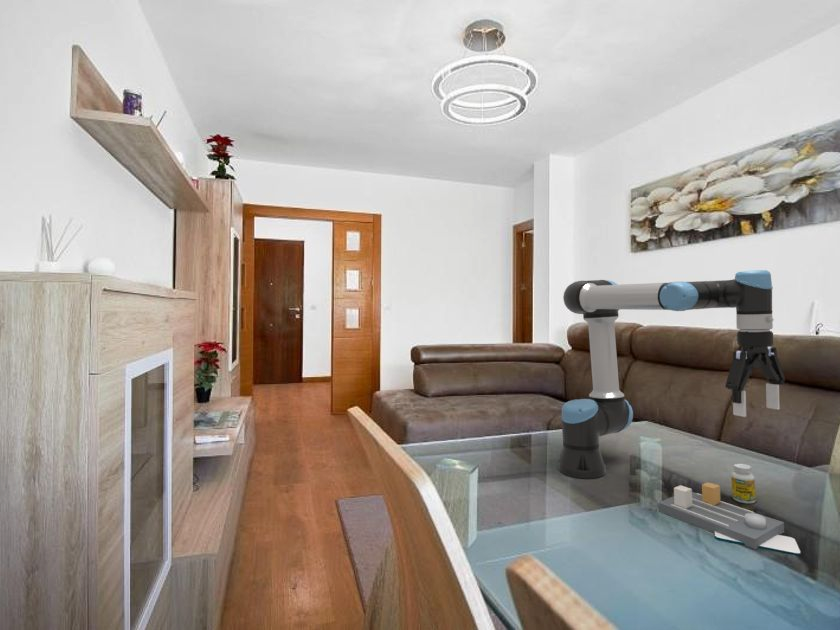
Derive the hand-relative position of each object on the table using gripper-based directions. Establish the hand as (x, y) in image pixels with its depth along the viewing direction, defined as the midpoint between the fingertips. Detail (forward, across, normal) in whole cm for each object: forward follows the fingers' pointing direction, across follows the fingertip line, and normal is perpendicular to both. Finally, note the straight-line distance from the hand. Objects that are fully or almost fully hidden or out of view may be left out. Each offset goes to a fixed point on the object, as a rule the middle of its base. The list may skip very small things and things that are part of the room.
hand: (756, 412), depth 116 cm
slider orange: (+24, -9, +7) cm, 27 cm away
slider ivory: (+24, -17, +9) cm, 31 cm away
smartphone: (+28, -14, -7) cm, 31 cm away
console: (+27, -12, +3) cm, 30 cm away
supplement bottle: (+27, +5, +7) cm, 29 cm away
